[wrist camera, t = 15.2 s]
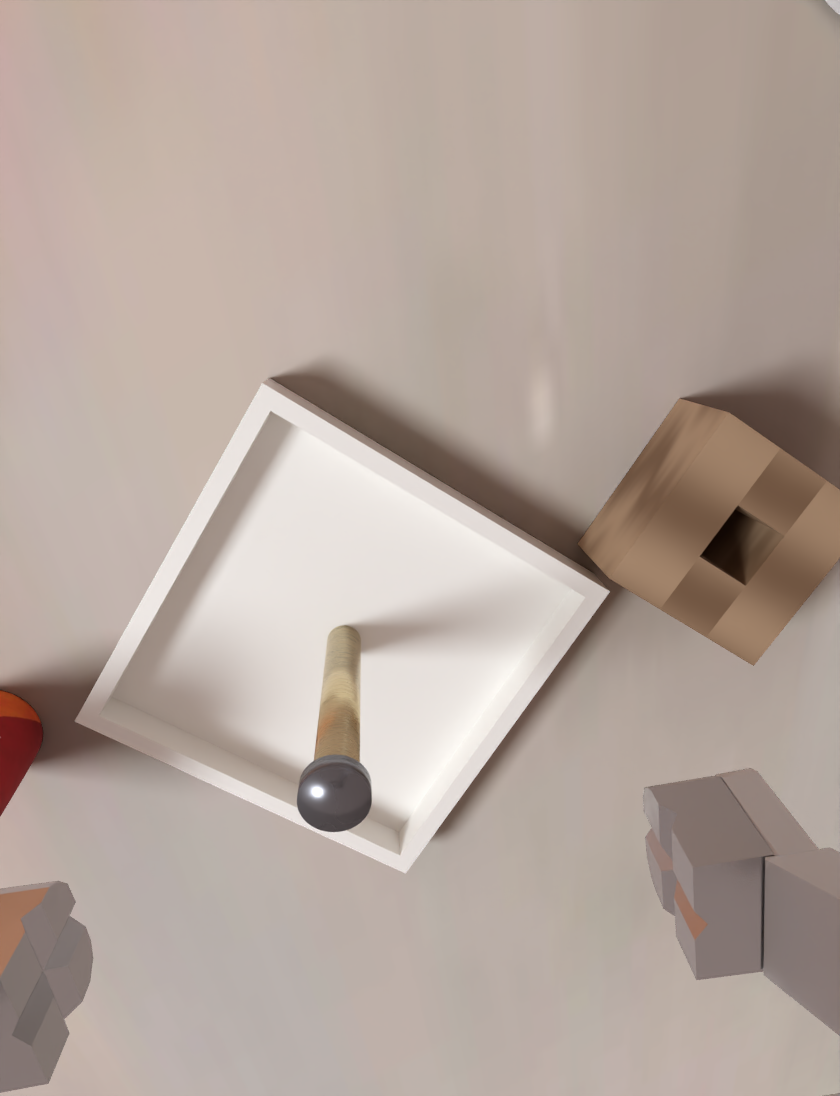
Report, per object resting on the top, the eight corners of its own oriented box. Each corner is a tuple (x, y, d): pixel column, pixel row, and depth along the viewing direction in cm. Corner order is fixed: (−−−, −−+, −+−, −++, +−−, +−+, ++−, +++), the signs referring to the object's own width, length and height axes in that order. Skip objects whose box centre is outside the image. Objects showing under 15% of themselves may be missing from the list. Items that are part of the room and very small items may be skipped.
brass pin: (334, 608, 44) (320, 757, 29) (378, 632, 44) (385, 788, 30) (309, 649, 44) (283, 813, 30) (353, 672, 45) (347, 843, 31)
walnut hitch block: (679, 398, 42) (728, 412, 36) (808, 487, 44) (874, 513, 39) (577, 543, 44) (609, 578, 39) (705, 622, 46) (753, 665, 41)
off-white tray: (269, 377, 40) (262, 382, 37) (594, 573, 45) (610, 591, 42) (92, 695, 45) (74, 721, 42) (403, 841, 50) (405, 873, 47)
